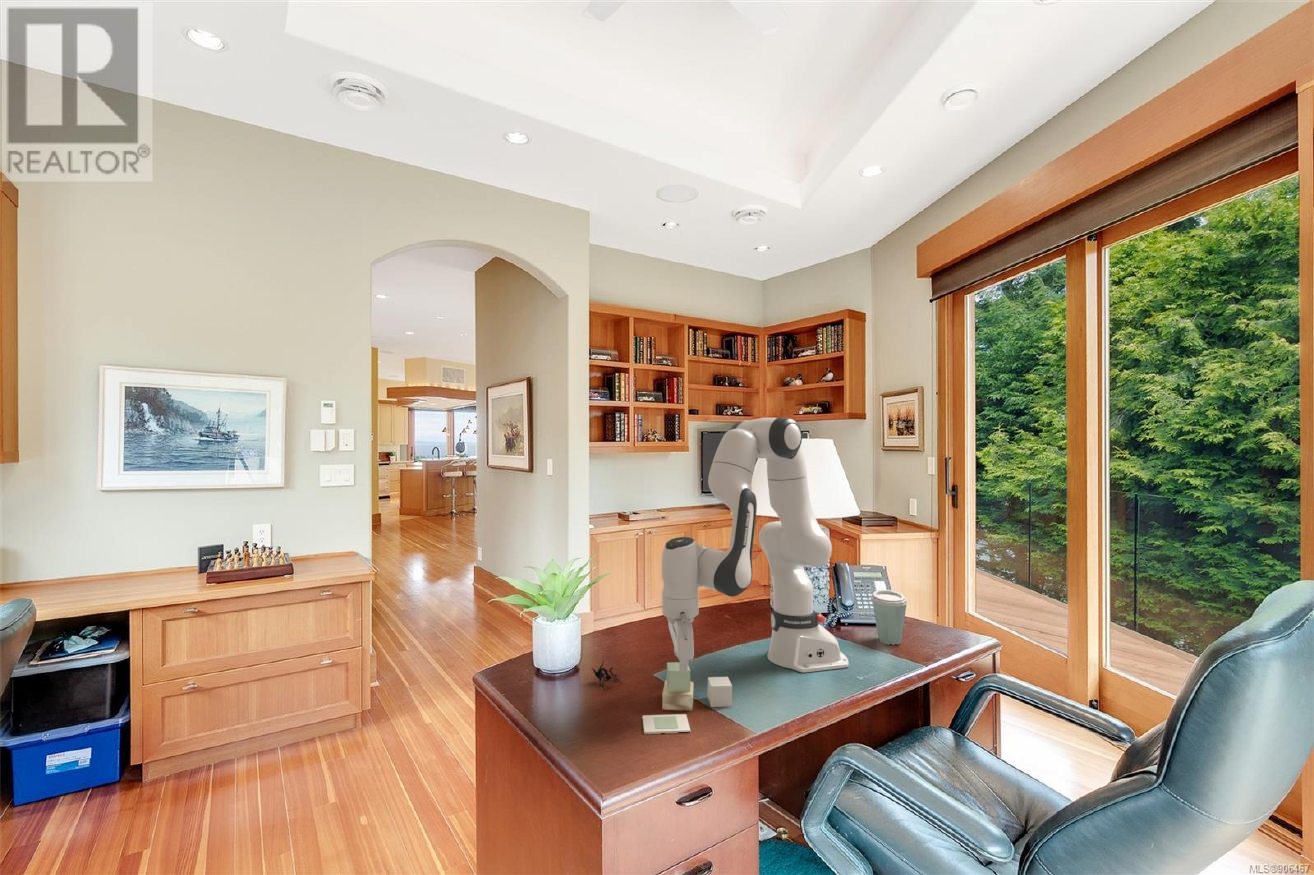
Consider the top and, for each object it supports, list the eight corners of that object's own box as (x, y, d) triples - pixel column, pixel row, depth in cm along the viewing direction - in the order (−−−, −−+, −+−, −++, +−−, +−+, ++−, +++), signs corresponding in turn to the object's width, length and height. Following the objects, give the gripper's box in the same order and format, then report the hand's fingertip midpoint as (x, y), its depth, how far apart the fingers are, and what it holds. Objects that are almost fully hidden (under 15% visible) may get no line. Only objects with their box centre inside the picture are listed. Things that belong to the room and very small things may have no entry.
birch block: (693, 698, 136) (693, 681, 136) (692, 712, 129) (692, 695, 129) (665, 696, 137) (665, 680, 137) (662, 710, 130) (662, 693, 130)
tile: (686, 716, 126) (686, 713, 126) (690, 732, 119) (690, 730, 119) (642, 717, 126) (642, 715, 126) (644, 734, 119) (644, 731, 119)
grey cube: (727, 697, 136) (727, 676, 136) (732, 706, 131) (732, 685, 131) (707, 697, 136) (707, 677, 136) (711, 707, 131) (711, 686, 131)
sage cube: (687, 682, 136) (687, 662, 136) (690, 691, 131) (690, 670, 131) (666, 683, 135) (666, 662, 135) (669, 692, 130) (669, 671, 130)
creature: (627, 685, 145) (601, 673, 148) (631, 666, 144) (605, 654, 147) (612, 698, 137) (585, 684, 141) (616, 678, 137) (589, 665, 140)
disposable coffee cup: (913, 648, 169) (913, 599, 169) (877, 647, 169) (878, 598, 169) (898, 635, 179) (899, 589, 179) (865, 635, 180) (865, 589, 180)
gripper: (700, 620, 123) (700, 682, 123) (687, 593, 143) (687, 646, 143) (672, 621, 122) (672, 683, 122) (663, 594, 143) (663, 647, 143)
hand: (680, 663), depth 133 cm, fingers open, 8 cm apart
